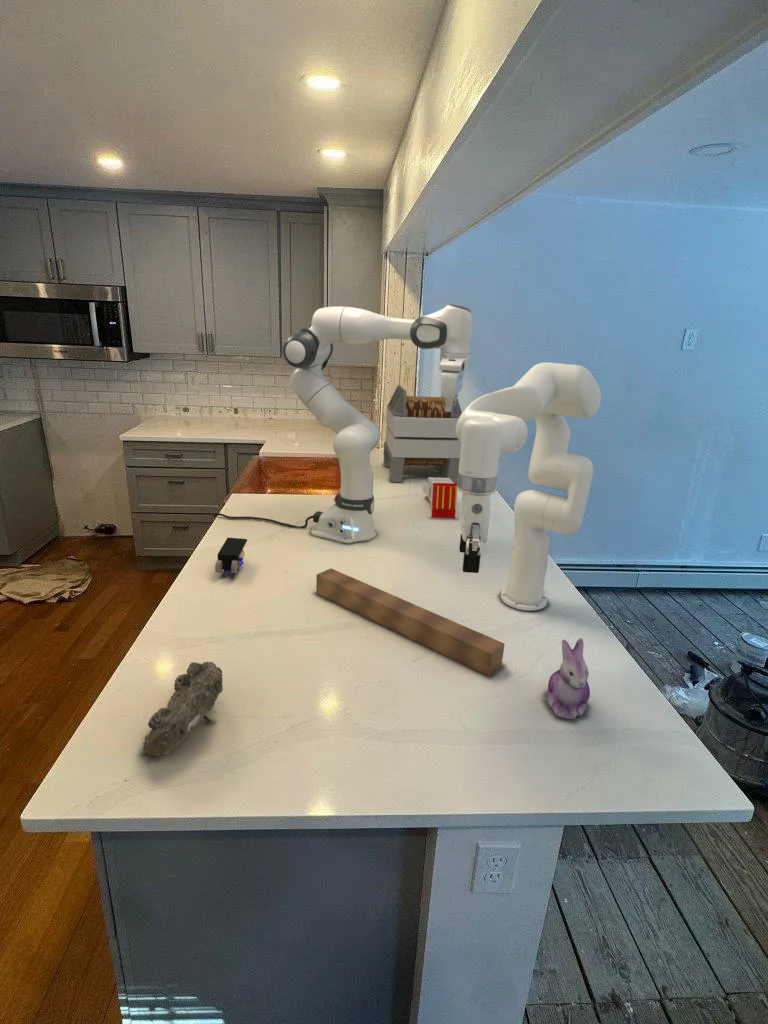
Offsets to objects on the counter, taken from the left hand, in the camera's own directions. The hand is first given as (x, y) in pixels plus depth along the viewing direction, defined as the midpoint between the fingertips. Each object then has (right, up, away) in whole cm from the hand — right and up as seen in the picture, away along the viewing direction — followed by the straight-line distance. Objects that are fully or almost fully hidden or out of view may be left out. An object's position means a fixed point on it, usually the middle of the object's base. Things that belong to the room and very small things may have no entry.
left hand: (450, 409), depth 174 cm
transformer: (-3, -13, +101) cm, 102 cm away
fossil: (-57, -71, -67) cm, 113 cm away
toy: (+2, -29, +55) cm, 63 cm away
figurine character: (-65, -49, -6) cm, 82 cm away
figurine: (+17, -71, -58) cm, 93 cm away
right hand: (-3, -42, -57) cm, 70 cm away
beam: (-16, -60, -32) cm, 70 cm away
